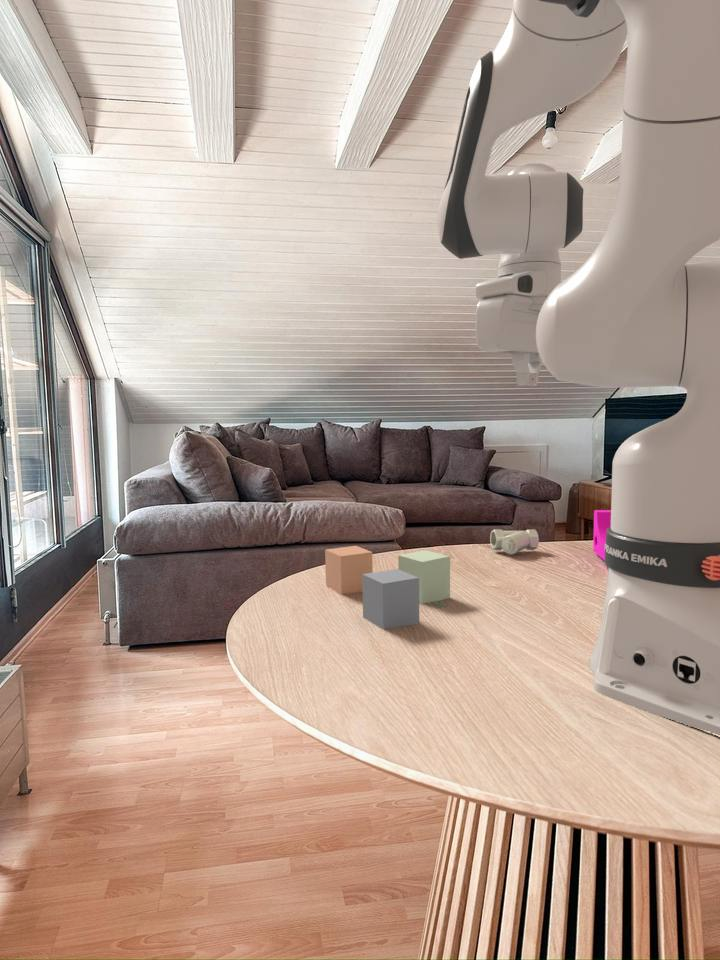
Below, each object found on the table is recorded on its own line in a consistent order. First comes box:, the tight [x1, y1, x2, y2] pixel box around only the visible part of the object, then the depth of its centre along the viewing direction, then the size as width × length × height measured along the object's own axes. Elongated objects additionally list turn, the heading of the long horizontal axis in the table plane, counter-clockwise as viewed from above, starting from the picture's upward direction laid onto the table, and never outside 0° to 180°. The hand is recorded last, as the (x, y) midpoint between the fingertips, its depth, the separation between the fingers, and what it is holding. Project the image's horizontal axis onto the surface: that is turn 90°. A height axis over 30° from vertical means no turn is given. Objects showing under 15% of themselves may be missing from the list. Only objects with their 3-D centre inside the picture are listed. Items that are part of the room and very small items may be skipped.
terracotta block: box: [324, 545, 374, 595], centre depth 92 cm, size 5×5×6 cm
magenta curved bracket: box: [592, 509, 611, 562], centre depth 108 cm, size 15×6×8 cm, turn 174°
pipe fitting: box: [489, 528, 540, 555], centre depth 116 cm, size 8×4×7 cm
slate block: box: [362, 568, 420, 630], centre depth 78 cm, size 5×5×6 cm
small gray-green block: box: [430, 601, 449, 609], centre depth 85 cm, size 2×1×1 cm, turn 28°
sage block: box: [397, 549, 451, 605], centre depth 88 cm, size 5×5×6 cm
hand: (527, 385), depth 94 cm, fingers closed
